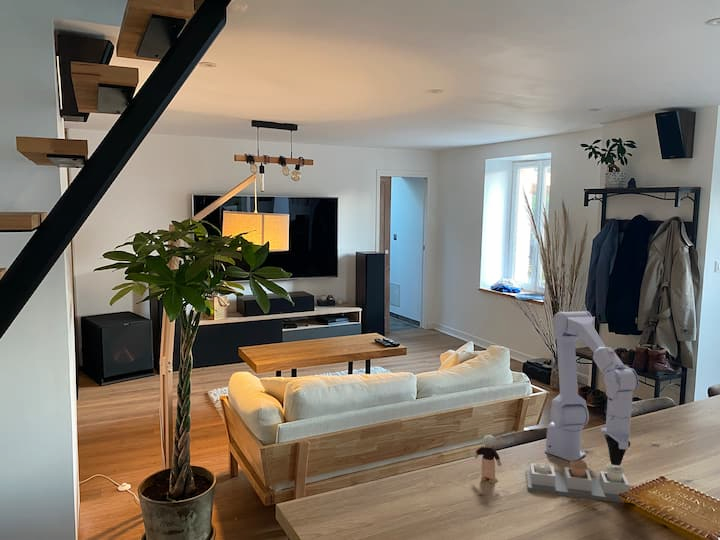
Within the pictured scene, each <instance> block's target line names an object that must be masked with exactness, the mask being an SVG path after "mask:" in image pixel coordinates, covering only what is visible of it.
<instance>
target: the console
mask: <svg viewBox="0 0 720 540" xmlns="http://www.w3.org/2000/svg"><path fill="white" fill-rule="evenodd" d="M536 464H537V463H533V462H532V463H530V464H529V465H530V466H529V469H525V478H526V486H527V487H526V488H527V491H528V492H534V493H542V494H543V493H544V494H550V495H558V496H567V497H574V498H583V499H589V500H591V499H592V500H598V501H604V502H605V501H607V502H614V503H621V504H623V503H622V502H623V501H622V499H621V498H620V497H619V494H620V493H624V492H627V491H629V489H630V487H631V486H630V484H629V483H630V482H629V481H628V479H627V477H626V475H625V473H622V482H621V483H620V482H612V481H608V480H607V471H601V470H600V471H599V477H592V476H591V474H590V470H589V469H586V472H585V478H578V477H573V476H571V467H568V466H564V472H563V473H559V472H555V467H554V465H549V464H548V465H549V466H550V467H551V470H550V474H545V473H536V469H535V465H536Z"/></svg>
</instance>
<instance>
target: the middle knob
mask: <svg viewBox="0 0 720 540" xmlns="http://www.w3.org/2000/svg"><path fill="white" fill-rule="evenodd" d="M587 465H588V464H587V462H586V461H584V460H581V459H578V460H576V459H575V460H571V461H570V468H571V476H573V477H578V478H585V472H586V470H587V467H588V466H587Z"/></svg>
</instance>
